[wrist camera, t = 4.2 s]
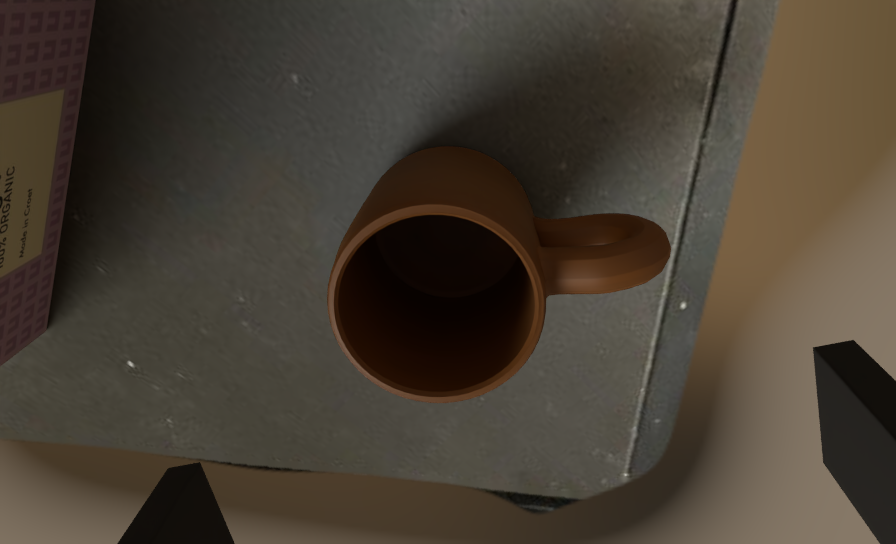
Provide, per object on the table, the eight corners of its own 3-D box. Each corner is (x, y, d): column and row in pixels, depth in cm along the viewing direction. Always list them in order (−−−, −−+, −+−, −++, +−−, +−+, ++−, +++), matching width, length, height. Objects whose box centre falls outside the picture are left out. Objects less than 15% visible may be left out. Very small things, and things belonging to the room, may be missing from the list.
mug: (622, 104, 31) (674, 149, 22) (643, 271, 34) (697, 370, 25) (347, 159, 33) (294, 222, 24) (387, 315, 35) (353, 424, 26)
